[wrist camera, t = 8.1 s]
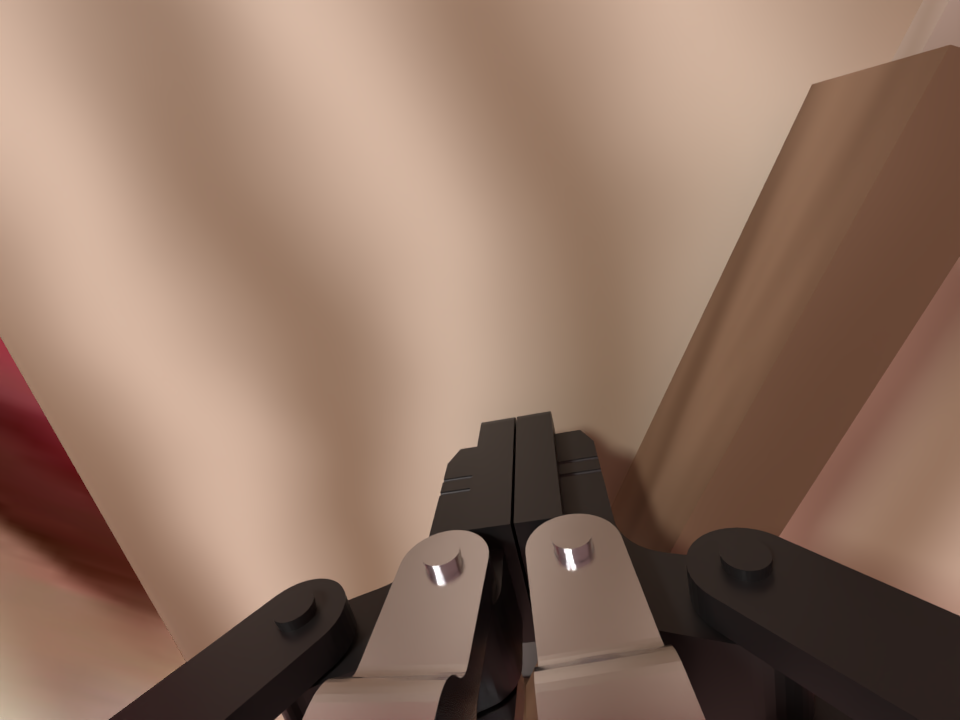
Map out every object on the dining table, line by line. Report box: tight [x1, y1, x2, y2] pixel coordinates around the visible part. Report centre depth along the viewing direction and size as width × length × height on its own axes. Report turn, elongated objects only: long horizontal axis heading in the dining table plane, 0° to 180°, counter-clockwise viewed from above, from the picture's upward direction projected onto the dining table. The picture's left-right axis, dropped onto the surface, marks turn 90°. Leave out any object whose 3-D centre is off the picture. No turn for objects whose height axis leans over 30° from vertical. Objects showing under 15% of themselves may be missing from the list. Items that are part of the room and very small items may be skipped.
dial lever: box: [523, 0, 960, 720], centre depth 10 cm, size 4×21×3 cm, turn 164°
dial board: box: [0, 0, 960, 720], centre depth 12 cm, size 26×28×2 cm
